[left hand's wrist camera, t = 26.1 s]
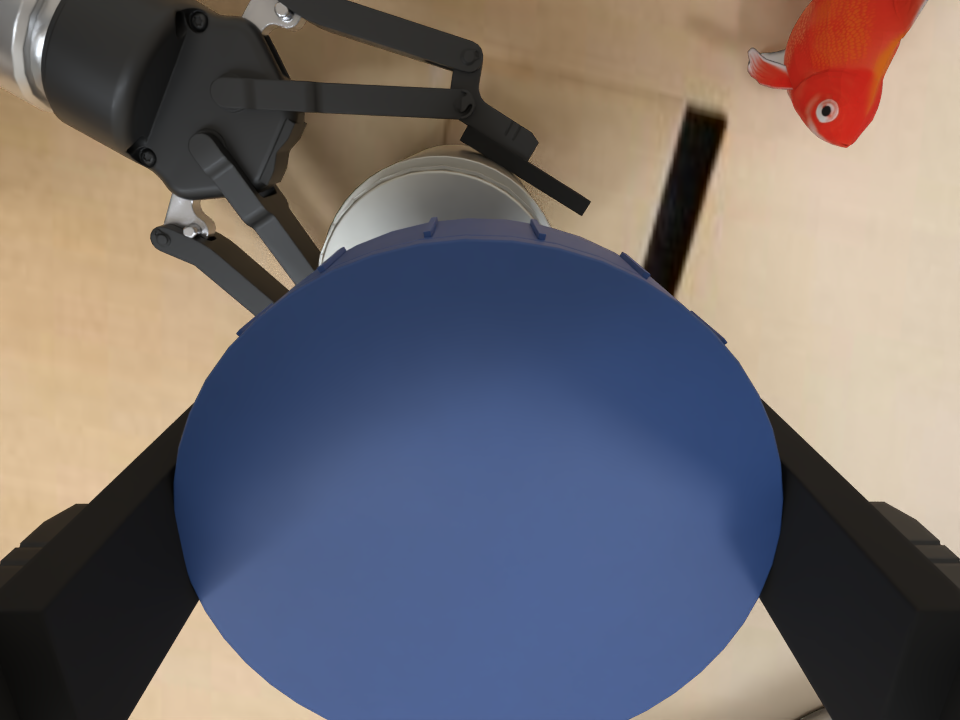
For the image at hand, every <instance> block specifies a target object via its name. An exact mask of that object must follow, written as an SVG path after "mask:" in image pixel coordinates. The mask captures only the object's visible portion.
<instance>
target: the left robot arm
mask: <svg viewBox="0 0 960 720" xmlns="http://www.w3.org/2000/svg"><path fill="white" fill-rule="evenodd" d="M760 399H761V398H760ZM761 401H762V404H763V406H764V408H765V411H766V413H767V416H768V418H769V421H770V423H771V425H772V428H773V432H774V436H775V440H776V444H777V449H778V453H779V457H780V462H781V472H782V486H783V509H782V520H781V531H780V536H779V540H778V544H777V548H776V552H775V556H774V560H773V564H772V567H771V569H770V572H769V574H768V577H767V579H766V582H765V584H764V587H763V589H762V592H761V594H760V596H759V598H760V600H761V601H762V603H763V605H764V606H765V608H766V610H767V611H768V613H769V615H770V616H771V618H772V620H773V621H774V623H775V625H776V627H777V628H778V630H779V632H780V633H781V635H782V637H783V638H784V640H785V642H786V643H787V645H788V647H789V648H790V650H791V652H792V653H793V655H794V657H795V658H796V660H797V662H798V663H799V665H800V667H801V668H802V670H803V672H804V673H805V675H806V677H807V678H808V680H809V682H810V684H811V685H812V687H813V689H814V690H815V692H816V694H817V695H818V697H819V699H820V700H821V702H822V704H823V705H824V707H825V708H823V709H820V710H818V711H815V712H813V713H811V714H809V715H807V716H805V717H803V718H802V719H800V720H960V559H959V558H958V557H957V556H956V555H955V554H954V553H953V552H952V551H951V550H949V549H948V548H947V547H946V546H945V545H940V541H939V540H938V539H937V538H936V537H935V536H934V535H933V534H932V533H930V532H929V531H928V530H927V529H926V528H925V527H924V526H923V525H921V524H920V523H919V522H918V521H917V520H916V519H914V518H912V517H910V516H909V515H907V514H905V513H903V512H901V511H900V510H898V509H896V508H894V507H893V506H891V505H889V504H887V503H885V502H869V501H868V500H866V499H865V498H864V497H863V496H862V495H861V494H860V493H859V492H858V491H857V490H856V489H855V488H854V487H853V486H852V485H851V484H850V483H849V482H848V481H847V480H846V479H845V478H843V477H842V476H841V475H840V474H839V473H838V472H837V471H836V470H835V469H834V468H833V467H832V466H831V465H830V464H829V463H828V462H827V461H826V460H825V459H824V458H823V457H822V456H821V455H819V454H818V453H817V452H816V451H815V450H814V449H813V448H812V447H811V446H810V445H809V444H808V443H807V442H806V441H805V440H804V439H803V438H802V437H801V436H800V435H799V434H798V433H797V432H795V431H794V430H793V429H792V428H791V427H790V426H789V425H788V424H787V423H786V422H785V421H784V420H783V419H782V418H781V417H780V416H779V415H778V414H777V413H776V412H775V411H774V410H772V409H771V408H770V407H769V406H768V405H767V404H766V403H765V402H764V401H763V400H762V399H761ZM193 404H194V403H193ZM193 404H192V405H191V406H190V407H189V408H188V409H187V410H186V411H185V412H184V413H183V414H182V415H181V416H180V417H179V418H178V419H177V420H176V421H175V422H174V423H172V424H171V425H170V426H169V427H168V428H167V429H166V430H165V431H164V432H163V433H162V434H161V435H160V436H159V437H158V438H157V439H156V440H155V441H154V442H153V443H152V444H151V445H149V446H148V447H147V448H146V449H145V450H144V451H143V452H142V453H141V454H140V455H139V456H138V457H137V458H136V459H135V460H134V461H133V462H132V463H131V464H130V465H129V466H128V467H127V468H125V469H124V470H123V471H122V472H121V473H120V474H119V475H118V476H117V477H116V478H115V479H114V480H113V481H112V482H111V483H110V484H109V485H108V486H107V487H106V488H105V489H104V490H102V491H101V492H100V493H99V494H98V495H97V496H96V497H95V498H94V499H93V500H92V501H91V502H90V503H89V504H75V505H73V506H71V507H70V508H68V509H66V510H64V511H63V512H61V513H59V514H57V515H55V516H54V517H52V518H50V519H48V520H47V521H45V522H43V523H42V524H41V525H40V526H39V527H38V528H37V529H36V530H34V531H33V532H32V533H31V534H30V535H29V536H28V537H27V538H26V539H24V540H23V541H22V542H21V543H20V547H19V548H14V549H13V550H12V551H11V552H10V553H9V554H8V555H7V556H6V557H4V558H3V559H2V560H1V561H0V720H128V718H129V716H130V715H131V713H132V711H133V710H134V708H135V706H136V705H137V703H138V701H139V700H140V698H141V696H142V695H143V693H144V691H145V690H146V688H147V686H148V685H149V683H150V681H151V679H152V678H153V676H154V674H155V673H156V671H157V669H158V668H159V666H160V664H161V663H162V661H163V659H164V658H165V656H166V654H167V653H168V651H169V649H170V648H171V646H172V644H173V643H174V641H175V639H176V638H177V636H178V634H179V633H180V631H181V629H182V628H183V626H184V624H185V622H186V621H187V619H188V617H189V616H190V614H191V612H192V611H193V609H194V607H195V606H196V604H197V602H198V601H199V598H198V596H197V594H196V592H195V590H194V588H193V586H192V584H191V582H190V579H189V576H188V572H187V568H186V564H185V560H184V555H183V551H182V546H181V541H180V536H179V532H178V527H177V522H176V517H175V511H174V486H173V483H174V476H175V468H176V461H177V454H178V447H179V444H180V441H181V438H182V434H183V431H184V428H185V425H186V422H187V418H188V415H189V412H190V410H191V408H192V406H193Z"/></svg>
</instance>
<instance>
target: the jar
mask: <svg viewBox="0 0 960 720" xmlns="http://www.w3.org/2000/svg"><path fill="white" fill-rule="evenodd" d="M432 217H437V218H438V221H446V220H456V219H465V218H476V219H507V220H513V221H519V222H525V223H530V220H531V219H536V220H537V221H538V222H539V224H540V225H543V226H547V227H550V228H551V226H550V224H549V222H548V220H547V218H546V217H545V215H544V213H543V212H542V210H541V209H540V207H539V206H538V205H537V203H536V202H535V201H534V199H533V198H532V196H531V195H530V194H529V192H528V191H527V190H526V188H525V187H524V186H523V184H522V183H521V182H520V180H519V179H518V177H517V176H516V175H515V174H513V173H512V172H510V171H508V170H507V169H505V168H504V167H502V166H500V165H499V164H497V163H496V162H494V161H492V160H491V159H489V158H487V157H486V156H484V155H483V154H481V153H479V152H478V151H476V150H475V149H473V148H471V147H470V146H466V145H459V144H447V145H440V146H435V147H432V148H428V149H425V150H423V151H421V152H419V153H416V154H414V155H412V156H410V157H408V158H406V159H404V160H401V161H399V162H397V163H395V164H393V165H391V166H389V167H386V168H384V169H382V170H381V171H379V172H377V173H376V174H374V175H373V176H371V177H369V178H368V179H367V180H366V181H364V182H363V183H362V184H361V185H360V186H358V187H357V188H356V189H355V190H354V191H353V192H352V194H351V195H350V196H349V197H348V198H347V199H346V200H345V202H344V203H343V205H342V206H341V208H340V209H339V211H338V212H337V214H336V216H335V218H334V220H333V222H332V224H331V226H330V228H329V231H328V234H327V237H326V240H325V243H324V246H323V248H322V251H321V253H320V257H319V266H320V265H321V264H322V263H323V262H324V261H326V260H327V259H328V258H329V257H330V256H332V255H333V254H334V253H335V252H336V251H337V250H339V249H340V248H342V247H345V249H346V251H347V250H349V249H351V248H352V247H354V246H356V245H358V244H361V243H363V242H366V241H368V240H371V239H373V238H376V237H379V236H381V235H384V234H386V233H389V232H391V231H395V230H399V229H403V228H407V227H412V226H416V225H420V224H424V223H428V222H429V221H430V219H431V218H432Z"/></svg>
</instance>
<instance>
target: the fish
mask: <svg viewBox="0 0 960 720" xmlns="http://www.w3.org/2000/svg"><path fill="white" fill-rule="evenodd" d="M927 1H928V0H813V1H812V2H811V3H810V4H809V5H808V6H807V8H806V9H805V10H804V11H803V13H802V14H801V16H800V18H799V19H798V21H797V23H796V24H795V26H794V28H793V30H792V32H791V35H790V37H789V40H788V43H787V46H786V49H785V50H782V51H778V52H772V53H761V54H760V53H759V52H758V51H757V50H756V49H755V48H751V49H750V50H749V51H748V57H749V63H748V72H749V74H750V75H751V77H753V78H754V79H756V80H757V81H758V83H759V84H761V85H764V86H767V87H770V88H776V89H787V92H788V95H789V97H790V99H791V101H792V103H793V106H794V108H795V110H796V112H797V113H798V115H799V116H800V117H801V119H802V120H803V122H804V123H805V125H806V126H807V127H808V128H809V129H810V130H811V131H812V132H813V133H814V134H815V135H816V136H817V137H818V138H820V139H822V140H824V141H826V142H828V143H830V144H833V145H836V146H840V147H845V148H847V147H848V146H850V145H851V144H853V143H854V142H855V141H856V140H857V138H858V137H859V136H860V135H861V133H862V132H863V131H864V130H865V129H866V127H867V126H868V125H869V124H870V123H871V121H872V120H873V118H874V116H875V114H876V111H877V109H878V106H879V103H880V99H881V94H882V86H883V78H884V75H885V73H886V71H887V69H888V67H889V65H890V63H891V61H892V59H893V57H894V55H895V53H896V51H897V49H898V47H899V44H900V40H901V39H902V38H903V37H904V36H905V35H906V33H907V32H908V31H909V29H910V28H911V26H912V25H913V23H914V22H915V20H916V19H917V17H918V15H919V14H920V12H921V11H922V9H923V7H924V6H925V4H926V3H927Z"/></svg>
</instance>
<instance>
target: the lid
mask: <svg viewBox="0 0 960 720" xmlns="http://www.w3.org/2000/svg"><path fill="white" fill-rule="evenodd" d="M236 334H237V335H238V336H239V337H238V338H237V339H236V340H235V341H234V342H233V343H232V344H231V345H230V347H229V348H228V349H227V350H226V352H225V353H224V355H223V356H222V357H221V359H220V360H219V362H218V363H217V364H216V366H215V367H214V369H213V370H212V371H211V373H210V374H209V376H208V377H207V379H206V380H205V382H204V384H203V386H202V388H201V390H200V392H199V394H198V396H197V398H196V400H195V402H194V404H193V406H192V408H191V410H190V412H189V415H188V418H187V422H186V425H185V428H184V431H183V434H182V438H181V441H180V444H179V447H178V454H177V461H176V468H175V476H174V483H173V486H174V511H175V517H176V522H177V527H178V532H179V536H180V541H181V546H182V551H183V555H184V560H185V564H186V568H187V572H188V576H189V579H190V582H191V584H192V586H193V588H194V590H195V592H196V594H197V596H198V598H199V600H200V602H201V604H202V606H203V608H204V610H205V611H206V613H207V614H208V616H209V617H210V619H211V620H212V622H213V623H214V625H215V626H216V628H217V629H218V630H219V632H220V633H221V635H222V636H223V638H224V639H225V640H226V641H227V642H228V643H229V645H230V646H231V647H232V648H233V649H234V650H235V651H236V652H237V653H238V655H239V656H240V657H241V658H242V659H243V660H244V661H245V662H246V663H247V664H248V665H249V666H250V667H251V668H252V669H253V670H255V671H256V672H257V673H258V674H259V675H260V676H261V677H263V678H264V679H265V680H266V681H267V682H268V683H269V684H271V685H272V686H273V687H275V688H276V689H278V690H279V691H281V692H282V693H283V694H285V695H286V696H288V697H289V698H291V699H292V700H293V701H295V702H296V703H298V704H300V705H302V706H303V707H305V708H307V709H309V710H311V711H312V712H314V713H316V714H318V715H320V716H321V717H323V718H325V719H327V720H629V719H631V718H633V717H635V716H637V715H639V714H641V713H643V712H645V711H647V710H649V709H650V708H652V707H653V706H655V705H657V704H658V703H660V702H661V701H663V700H664V699H666V698H668V697H669V696H671V695H672V694H674V693H675V692H677V691H678V690H679V689H680V688H682V687H683V686H684V685H685V684H687V683H688V682H689V681H690V680H692V679H693V678H694V677H696V676H697V675H698V674H699V673H701V672H702V671H703V670H704V669H705V667H706V666H707V665H708V664H709V663H710V662H711V661H712V660H713V659H714V658H715V657H716V656H717V655H718V654H719V653H720V652H721V651H722V650H723V649H724V648H725V647H726V646H727V644H728V643H729V642H730V640H731V639H732V638H733V636H734V635H735V634H736V633H737V631H738V630H739V629H740V627H741V626H742V625H743V623H744V622H745V620H746V618H747V617H748V615H749V613H750V611H751V610H752V608H753V606H754V605H755V603H756V601H757V599H758V598H759V596H760V594H761V592H762V589H763V587H764V584H765V582H766V579H767V577H768V574H769V572H770V569H771V567H772V564H773V560H774V556H775V552H776V548H777V544H778V540H779V536H780V531H781V520H782V509H783V486H782V472H781V462H780V457H779V453H778V449H777V444H776V440H775V436H774V432H773V428H772V425H771V423H770V421H769V418H768V416H767V413H766V411H765V408H764V406H763V404H762V401H761V399H760V396H759V394H758V392H757V391H756V389H755V387H754V386H753V384H752V383H751V381H750V379H749V378H748V376H747V374H746V373H745V371H744V369H743V368H742V366H741V365H740V363H739V361H738V360H737V359H736V358H735V357H734V355H733V354H732V353H731V352H730V351H729V350H728V348H727V347H726V346H725V344H726V343H727V341H726V340H725V339H724V338H723V337H722V336H721V335H720V334H719V333H717V332H716V331H715V330H714V329H713V328H712V327H710V326H709V325H708V324H707V323H706V322H704V321H703V320H702V319H701V318H700V317H699V316H697V315H696V314H695V313H694V312H693V311H689V310H688V309H687V308H686V307H685V306H684V305H682V304H681V303H680V302H679V301H678V300H677V299H675V298H674V297H673V296H672V295H671V294H670V293H668V292H667V291H666V290H665V289H664V288H663V287H662V286H660V285H659V284H658V283H657V282H656V281H655V280H653V279H652V278H651V277H650V274H649V273H648V272H647V271H646V270H645V269H644V268H642V267H641V266H640V265H639V264H638V263H636V262H635V261H634V260H633V259H632V258H631V257H629V256H628V255H627V254H625V253H624V252H622V253H621V255H620V256H619V255H618V254H616V253H615V252H612V251H610V250H608V249H606V248H604V247H602V246H599V245H597V244H595V243H593V242H591V241H589V240H587V239H584V238H582V237H580V236H576V235H573V234H570V233H567V232H563V231H560V230H557V229H554V228H550V227H547V226H543V225H540V224H539V222H538V221H537V220H536V219H531V220H530V223H525V222H519V221H513V220H507V219H476V218H465V219H456V220H446V221H438V218H437V217H432V218H431V219H430V221H429V222H428V223H424V224H420V225H416V226H412V227H407V228H403V229H399V230H395V231H391V232H389V233H386V234H384V235H381V236H379V237H376V238H373V239H371V240H368V241H366V242H363V243H361V244H358V245H356V246H354V247H352V248H351V249H349V250H347V251H346V249H345V247H342V248H340V249H339V250H337V251H336V252H335V253H334V254H333V255H332V256H330V257H329V258H328V259H327V260H326V261H324V262H323V263H322V264H321V265H320V266H319V267H317V269H316V270H315V271H314V272H312V273H311V274H310V275H308V276H307V277H306V278H305V279H303V280H302V281H301V282H299V283H298V284H297V285H296V286H294V287H293V288H292V289H291V290H290V291H288V292H287V293H286V294H285V295H284V296H283V297H281V298H280V299H279V300H278V301H277V302H276V303H274V304H273V303H271V304H270V305H268V306H267V307H266V308H265V309H264V310H262V311H261V312H260V313H259V314H258V315H256V316H255V317H254V318H253V319H252V320H250V321H249V322H248V323H247V324H246V325H244V326H243V327H242V328H241V329H240V330H239V331H238V332H237V333H236Z"/></svg>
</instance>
